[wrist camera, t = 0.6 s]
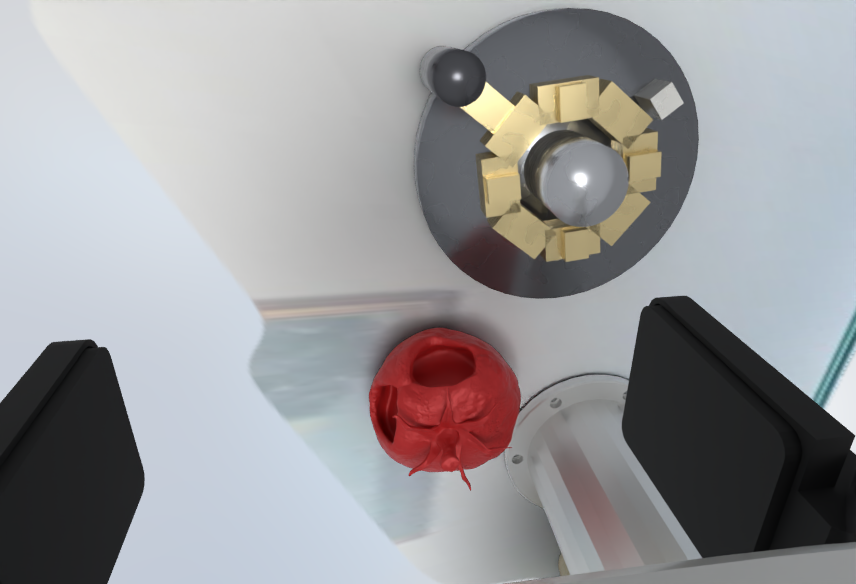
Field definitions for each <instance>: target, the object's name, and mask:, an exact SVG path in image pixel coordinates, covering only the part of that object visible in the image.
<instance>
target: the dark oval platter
mask: <svg viewBox="0 0 856 584" xmlns="http://www.w3.org/2000/svg"><path fill="white" fill-rule="evenodd" d="M464 50H465V51H469V52H471V53H473V54H475V55H476V56H477V57H478V58H479V59H480V60H481V62H482V63H483V65H484V68H485V71H486V82H487V83H488V84H489V85H490V86H491V87H492V88H494V89H495V90H496V91H497V92H498V93H500V94H501V95H502V96H503V97H504V98H506V99H507V100H508V101H510V100H511V99H512V98H513V96H514V95H515V94H516V92H520V93H523V94H525V95H526V96H527V97H529V98H530V87H529V84H532V83H539V82H546V81H552V80H559V79H565V78H572V77H578V76H585V75H590V76H595V77H599V80H600V79H604V80H609V81H612V82H613V83H615V84H616V85H617V86H618V87H619V88H620V89H621V90H622V91H623V92H624V93H625V94H626V95H627V96H628V97H630V98H631V99H632V100H633V101H634V102H635V103H636V104H637V105H638V106H639V107H640V108H641V109H642V110H643V111H645V112H646V113H647V114H648V115H649V116H650V117H651V118H652V119H653V120H652V122H651V123H650V124H649V125H648V126H647V128H649V129H651V130H654V131H657V132H658V143H657V150H659V151H661V152H662V153H661V177H656V190H652V191H646V192H640V194H642V195H643V196H644V197H645V198H646V199H647V200H649V201H650V202H651V203H650V204H649V205H648V206H647V207H646V208H645V209H644V210H643V212H642V213H641V214H640V215H639V216H638V217H637V218H636V219H635V221H634V222H633V223H632V224H631V225H630V226H629V227H628V228H627V230H626V231H625V232H624V233H623V234H622V235H621V236H620V237H619V239H618V240H617V241H616V242H615V243H614V244H613V245H612V246H611V245H609V244H608V243H607V242H605V241H604V240H603V239H602V238H600V253H596V254H590V255H589V258H586V259H580V260H575V261H569V262H565V261H564V259H561V260H555V261H549V262H546V261H545V260H544V259H543V257H542V256H541V255H540V254H539V255H538V256H537V257H536V258H535V259H533V258H532V257H531V256H529V255H528V254H527V253H525V252H524V251H522V250H521V249H520V248H518V247H517V246H516V245H514V244H513V243H512V242H510V241H509V240H508V239H506V238H505V237H503V236H502V235H501V234H499V233H498V232H497V231H495V230H494V229H493V228H492V227H491V226H490V224H489V223H488V221H487V219H488V218H489V217H488V218H486V216H485V215H484V213H483V212H482V211H481V206H480V195H479V185H478V175H477V164H476V154H479V153H485V152H492V151H491V150H490V149H488V148H487V147H486V146H485V145H483V144H482V143H481V142H480V139H481V138H482V137H483V135H484V134H485V133H486V132H487V130H488V129H486V128H485V127H484V126H483V125H481V124H480V123H479V122H478V121H476V120H475V119H474V118H473V117H471V116H470V115H469V114H468V113H466V112H465V111H464V110H463V109H461V108H460V107H455V106H451V105H448V104H446V103H445V102H443V101H442V100H441V99H440V98H439V97H437V96H436V95H435V94H434V93H431V94H430V96H429V99H428V101H427V103H426V106H425V108H424V111H423V113H422V116H421V120H420V123H419V127H418V131H417V135H416V142H415V149H414V176H415V184H416V190H417V194H418V198H419V202H420V205H421V208H422V211H423V213H424V216H425V218H426V221H427V223H428V226H429V228H430V230H431V232H432V234H433V236H434V237H435V239H436V241H437V243H438V244H439V246H440V247H441V248H442V250H443V251H444V252H445V254H446V255H447V256H448V257H449V259H450V260H451V261H452V262H453V263H454V264H456V265H457V266H458V267H459V268H460V269H461V270H462V271H463V272H465V273H466V274H467V275H469V276H470V277H471V278H473V279H474V280H476V281H478V282H480V283H481V284H483V285H485V286H487V287H489V288H491V289H494V290H497V291H500V292H502V293H505V294H510V295H514V296H519V297H526V298H557V297H563V296H570V295H574V294H577V293H581V292H585V291H588V290H590V289H593V288H595V287H598V286H600V285H603V284H605V283H607V282H608V281H610V280H612V279H614V278H616V277H618V276H619V275H621V274H622V273H624V272H625V271H627V270H628V269H630V268H631V267H632V266H634V265H635V264H636V263H637V262H638V261H640V260H641V259H642V258H643V257H644V256H645V255H647V253H648V252H649V251H650V250H651V249H652V248H653V247H654V246H655V245H656V244H657V243H658V242H659V241H660V239H661V238H662V237H663V235H664V234H665V233H666V231H667V230H668V229H669V227H670V226H671V224H672V223H673V221H674V219H675V218H676V216H677V214H678V213H679V211H680V209H681V207H682V205H683V202H684V200H685V198H686V196H687V194H688V191H689V188H690V185H691V182H692V179H693V175H694V170H695V166H696V161H697V153H698V141H699V137H698V119H697V113H696V107H695V102H694V99H693V96H692V93H691V90H690V87H689V84H688V82H687V80H686V78H685V76H684V74H683V72H682V70H681V68H680V66H679V65H678V63H677V62H676V60H675V59H674V58H673V56H672V55H671V53H670V52H669V51H668V50H667V49H666V48H665V47H664V46H663V45H662V44H661V43H660V42H659V40H658V39H656V38H655V37H654V36H652V35H651V34H650V33H649V32H647V31H646V30H645V29H643V28H642V27H640V26H638V25H636V24H634V23H633V22H631V21H629V20H627V19H625V18H622V17H619V16H616V15H613V14H611V13H608V12H602V11H597V10H591V9H573V8H567V9H555V10H547V11H539V12H534V13H530V14H527V15H523V16H519V17H516V18H514V19H512V20H509V21H507V22H505V23H502V24H500V25H498V26H496V27H495V28H493V29H491V30H490V31H488V32H486V33H485V34H483V35H482V36H480V37H479V38H478V39H477V40H475V41H474V42H473V43H471V44H470V45H469V46H468V47H466V48H465V49H464ZM518 174H520V188H521V199H520V203H521V204H522V205H524V206H525V207H526V208H527V209H529V210H530V211H531V212H533V213H534V214H535V215H537V216H538V217H539V218H540V219H542V220H543V221H546V220H552V219H558V218H559V219H560V220H561V221H562V222H564V223H566V224H568V225H571V226H575V227H588V226H593V225H596V224H599V223H601V222H603V221H605V220H606V219H608V218H609V217H610V216H611V215H613V214H614V213H615V212H616V210H617V209H618V208H619V207H620V205H621V204H622V202H623V200H624V198H625V196H626V193H627V189H628V183H629V177H628V170H627V167H626V164H625V162H624V160H623V159H622V157H621V156H620V155H619V154H618V153H617V152H616V151H615V150H613V149H612V148H611V139H610V138H609V137H608V136H607V135H605V134H604V133H603V132H602V131H601V130H600V129H599V128H597V127H596V126H595V125H594V124H593V123H592V122H591V121H590V120H588V119H582V120H576V121H569V122H563V123H560V122H559V123H552V124H547V125H546V126H545V128H544V129H543V130H542V131H541V133H540V134H539V135H538V136H537V138H536V139H535V140H534V141H533V143H532V144H531V145H530V146H529V148H528V149H527V150H526V152H525V153H524V154H523V155H522V157H521V158H520V159H519V160H518Z"/></svg>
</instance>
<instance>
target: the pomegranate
mask: <svg viewBox="0 0 856 584" xmlns="http://www.w3.org/2000/svg"><path fill="white" fill-rule="evenodd" d="M520 401H521V394H520V389H519V386H518V380H517V377H516V376H515V374H514V372H513V371H512V369H511V368H510V366H509V365H508V364H507V363H506V362H505V360H504V359H503V358H502V356H501V355H500V354H499V353H498V352H497V351H496V350H495V349H494V348H493V347H492V346H491V345H489V344H488V343H486V342H484V341H482V340H480V339H478V338H476V337H474V336H472V335H469V334H466V333H464V332H461V331H456V330H450V329H447V328H433V329H427V330H424V331H422V332H419V333H416V334H415V335H413V336H411V337H409V338H408V339H406V340H404V341H403V342H401V343H400V344H399V345H397V346H396V347H395V348H394V349H393V350H392V352H391V353H390V354H389V355H388V356H387V357H386V359H385V361H384V363H383V365H382V367H381V368H380V369H379V371H378V373H377V374H376V376H375V378H374V380H373V383H372V385H371V389H370V392H369V402H370V416H371V420H372V424H373V428H374V430H375V432H376V435H377V439H378V441H379V443H380V445H381V446H382V448H383V449H384V450H385V452H386V453H387V454H388V455H389V456H390V457H391V458H392V459H394V460H395V461H396V462H398V463H400V464H403V465H404V466H407V467H409V468H413V469H412V470H411V471H410V473H409V476H411V475H412V474H413V473H415V472H417V471H421V470H422V471H426V472H444V471H447V472H448V471H450V472H453V471H455V470H457V471H458V470H460V472H461V477H462V479H463V480H464V481H465V482H466V483H467V485H468V487H469V489H470V491H471V485H470V483H469V481H468V479H467V478H466V476H465V473H464V470H463V469H473V468H476V467H478V466H480V465H482V464H484V463H485V462H487V461H488V460H490V459H493V458H495V457H497V456H498V455H500V454H501V453H502V452H503V451H504V450H505V449H506V448H512V447H508V445H509V443H510V442H511V439H512V434H513V430H514V427H515V424H516V420H517V417H518V414H519V409H520Z"/></svg>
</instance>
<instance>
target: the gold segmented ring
mask: <svg viewBox="0 0 856 584" xmlns="http://www.w3.org/2000/svg"><path fill="white" fill-rule="evenodd" d="M420 76H421V80H422V82H423V84H424V85H425V86H426V87H427V88H428V89H429V90H430V91H431V92H432V93H434V94H435V95H436V96H437V97H439V98H440V99H441V100H442V101H443V102H445V103H446V104H448V105H451V106H455V107H460V108H461V109H463V110H464V111H465V112H466V113H468V114H469V115H470V116H471V117H473V118H474V119H475V120H476V121H478V122H479V123H480V124H481V125H483V126H484V127H485V128H486V129H488V130H487V132H486V133H485V134H484V135H483V137H482V138H481V139H480V142H481V143H482V144H483V145H485V146H486V147H487V148H488V149H490V150H491V151H492V152H485V153H479V154H476V164H477V175H478V185H479V195H480V206H481V211H482V212H483V213H484V215H485V216H486V218H488V217H489V218H488V219H487V221H488V223H489V224H490V226H491V227H492V228H493V229H494V230H495V231H497V232H498V233H499V234H501V235H502V236H503V237H505V238H506V239H508V240H509V241H510V242H512V243H513V244H514V245H516V246H517V247H518V248H520V249H521V250H522V251H524V252H525V253H527V254H528V255H529V256H531V257H532V258H533V259H535V258H536V257H537V256H538V255H539V254H540V255H541V256H542V257H543V259H544V260H545V261H546V262H549V261H555V260H561V259H564V261H565V262H569V261H575V260H580V259H586V258H589V255H590V254H596V253H600V238H602V239H603V240H604V241H605V242H607V243H608V244H609V245H611V246H612V245H613V244H614V243H615V242H616V241H617V240H618V239H619V237H620V236H621V235H622V234H623V233H624V232H625V231H626V230H627V228H628V227H629V226H630V225H631V224H632V223H633V222H634V221H635V219H636V218H637V217H638V216H639V215H640V214H641V213H642V212H643V210H644V209H645V208H646V207H647V206H648V205H649V204H650V203H651V202H650V201H649V200H647V199H646V198H645V197H644V196H643V195H642V194H640V192H646V191H652V190H656V177H661V153H662V152H661V151H659V150H657V143H658V132H657V131H654V130H651V129H649V128H647V126H648V125H649V124H650V123H651V122H652V120H653V119H652V118H651V117H650V116H649V115H648V114H647V113H646V112H645V111H643V110H642V109H641V108H640V107H639V106H638V105H637V104H636V103H635V102H634V101H633V100H632V99H631V98H630V97H628V96H627V95H626V94H625V93H624V92H623V91H622V90H621V89H620V88H619V87H618V86H617V85H616V84H615V83H613V82H612V81H609V80H604V79H600V80H599V77H595V76H590V75H585V76H578V77H572V78H565V79H559V80H552V81H546V82H539V83H532V84H529V87H530V98H529V97H527V96H526V95H525V94H523V93H520V92H516V94H515V95H514V96H513V98H512V99H511V100H510V101H508V100H507V99H506V98H504V97H503V96H502V95H501V94H500V93H498V92H497V91H496V90H495V89H494V88H492V87H491V86H490V85H489V84H488V83H487V82H486V71H485V68H484V65H483V63H482V62H481V60H480V59H479V58H478V57H477V56H476V55H475V54H473V53H471V52H469V51H465V50H460V49H456V48H451V47H446V46H438V47H435V48H433V49H431V50H429V51H428V52H427V53H426V54H425V56H424V57H423V59H422V61H421V64H420ZM582 119H588V120H590V121H591V122H592V123H593V124H594V125H595V126H596V127H597V128H599V129H600V130H601V131H602V132H603V133H604V134H605V135H607V136H608V137H609V138H610V139H611V148H612V149H613V150H615V151H616V152H617V153H618V154H619V155H620V156H621V157H622V159H623V160H624V162H625V164H626V167H627V170H628V177H629V183H628V189H627V193H626V196H625V198H624V200H623V202H622V204H621V205H620V207H619V208H618V209H617V210H616V212H615V213H614V214H613V215H611V216H610V217H609V218H608V219H606V220H605V221H603V222H601V223H599V224H596V225H593V226H588V227H575V226H571V225H568V224H566V223H564V222H562V221H561V220H560V219H559V218H558V219H552V220H546V221H543V220H542V219H540V218H539V217H538V216H537V215H535V214H534V213H533V212H531V211H530V210H529V209H527V208H526V207H525V206H524V205H522V204H521V203H520V199H521V188H520V174H518V160H519V159H520V158H521V157H522V155H523V154H524V153H525V152H526V150H527V149H528V148H529V146H530V145H531V144H532V143H533V141H534V140H535V139H536V138H537V136H538V135H539V134H540V133H541V131H542V130H543V129H544V128H545V126H546V125H547V124H552V123H559V122H560V123H563V122H569V121H576V120H582Z"/></svg>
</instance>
